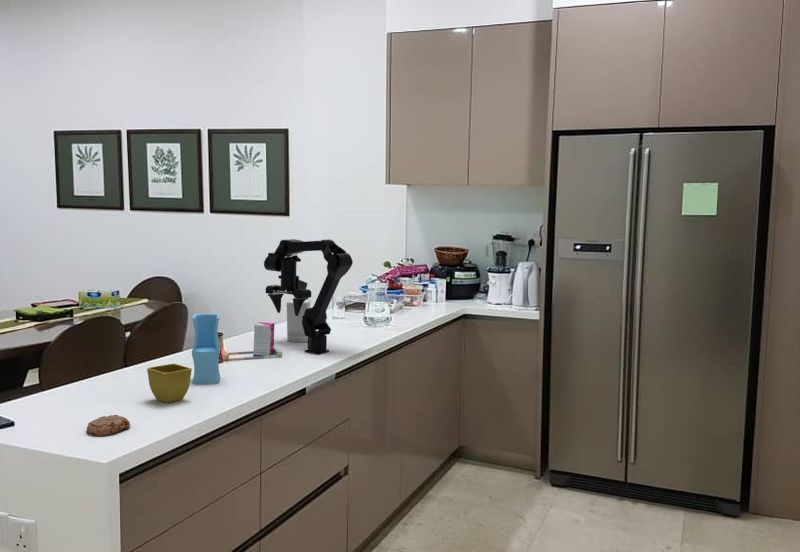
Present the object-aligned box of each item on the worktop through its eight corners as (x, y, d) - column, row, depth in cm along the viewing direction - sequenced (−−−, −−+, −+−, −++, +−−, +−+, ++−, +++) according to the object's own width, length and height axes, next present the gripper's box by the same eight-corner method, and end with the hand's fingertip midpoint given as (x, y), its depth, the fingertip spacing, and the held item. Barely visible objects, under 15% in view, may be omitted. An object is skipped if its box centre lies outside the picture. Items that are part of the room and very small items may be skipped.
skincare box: (310, 339, 290) (311, 300, 288) (307, 342, 284) (307, 303, 282) (290, 338, 291) (290, 299, 289) (285, 341, 284) (286, 302, 283)
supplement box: (269, 357, 257) (269, 325, 256) (253, 356, 258) (253, 324, 256) (274, 354, 263) (274, 322, 261) (258, 353, 263) (258, 321, 262)
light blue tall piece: (192, 384, 219) (191, 318, 217) (194, 377, 227) (193, 313, 225) (219, 383, 221) (219, 318, 218) (220, 377, 228) (220, 313, 226)
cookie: (80, 438, 171) (79, 426, 170) (92, 424, 181) (91, 412, 181) (125, 437, 172) (124, 425, 172) (134, 423, 182) (134, 411, 182)
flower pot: (174, 393, 209) (174, 362, 208) (192, 399, 203) (192, 368, 202) (146, 399, 202) (146, 367, 201) (164, 406, 196) (164, 373, 195)
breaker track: (274, 351, 267) (274, 345, 267) (282, 357, 258) (282, 351, 257) (219, 354, 259) (219, 349, 259) (224, 361, 250) (224, 355, 249)
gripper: (321, 273, 275) (320, 314, 277) (285, 269, 285) (284, 308, 287) (301, 276, 266) (300, 318, 268) (264, 271, 276) (264, 312, 278)
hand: (287, 314), depth 275 cm, fingers open, 9 cm apart
